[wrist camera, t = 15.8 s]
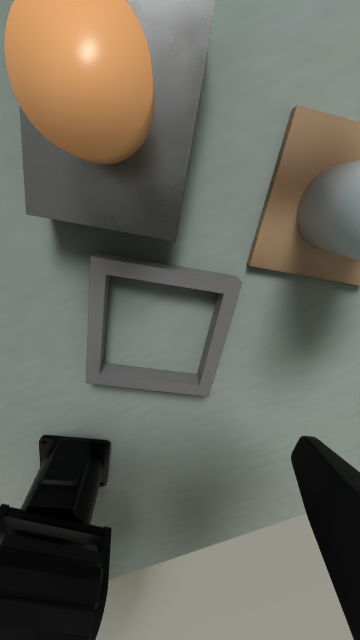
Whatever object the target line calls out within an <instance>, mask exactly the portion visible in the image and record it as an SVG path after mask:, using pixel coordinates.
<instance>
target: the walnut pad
mask: <svg viewBox="0 0 360 640" xmlns="http://www.w3.org/2000/svg"><path fill="white" fill-rule="evenodd" d="M358 160H360V122H357V121H353V120H350V119H346V118H342V117H338V116H335V115H331V114H327V113H323V112H320V111H316V110H312V109H308V108H305V107H301V106H296V107H294V108H293V109H292V112H291V115H290V118H289V122H288V125H287V129H286V132H285V136H284V139H283V142H282V146H281V149H280V153H279V156H278V160H277V163H276V166H275V170H274V173H273V177H272V180H271V183H270V187H269V190H268V194H267V197H266V201H265V204H264V207H263V211H262V214H261V218H260V221H259V224H258V228H257V231H256V235H255V238H254V242H253V245H252V248H251V252H250V255H249V259H248V262H247V264H248V265H249V266H253V267H258V268H264V269H269V270H275V271H281V272H286V273H292V274H297V275H303V276H309V277H314V278H320V279H325V280H331V281H337V282H342V283H348V284H353V285H359V286H360V261H359V260H356V259H353V258H349V257H346V256H343V255H339V254H336V253H333V252H330V251H326V250H323V249H320V248H317V247H314V246H312V245H310V244H309V243H307V242H306V241H305V240H304V238H303V237H302V236H301V234H300V232H299V229H298V225H297V209H298V205H299V201H300V199H301V196H302V194H303V193H304V191H305V189H306V188H307V186H308V185H309V184H310V182H311V181H312V180H313V179H314V178H315V177H316V176H317V175H319V174H320V173H321V172H323V171H324V170H326V169H328V168H330V167H332V166H335V165H339V164H344V163H348V162H353V161H358Z"/></svg>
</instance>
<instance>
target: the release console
mask: <svg viewBox="0 0 360 640" xmlns="http://www.w3.org/2000/svg"><path fill="white" fill-rule="evenodd" d="M125 1H126V2H127V3H128V5H129V6H130V7H131V9H132V11H133V12H134V14H135V16H136V17H137V19H138V21H139V24H140V26H141V28H142V30H143V33H144V36H145V38H146V41H147V45H148V49H149V53H150V59H151V66H152V75H153V84H154V96H155V107H154V116H153V121H152V124H151V128H150V130H149V133H148V135H147V137H146V139H145V141H144V142H143V144H142V145H141V146H140V148H139V149H138V150H137V151H136V152H135V153H134V154H133V155H131V156H130V157H128V158H127V159H125V160H123V161H121V162H118V163H114V164H108V165H101V164H94V163H90V162H87V161H85V160H82V159H80V158H78V157H76V156H74V155H72V154H70V153H69V152H67V151H65V150H63V149H61V148H59V147H58V146H56V145H54V144H53V143H51V142H50V141H49V140H48V139H46V138H45V137H44V136H43V135H42V134H41V133H40V132H39V131H38V130H37V129H36V128H35V127H34V125H33V124H32V123H31V122H30V121H29V119H28V118H27V116H26V115H25V113H24V112H23V110H22V108H21V106H20V120H21V136H22V153H23V170H24V186H25V203H26V214H28V215H33V216H39V217H44V218H49V219H55V220H60V221H66V222H71V223H77V224H82V225H87V226H93V227H98V228H104V229H109V230H115V231H120V232H125V233H131V234H136V235H142V236H147V237H153V238H158V239H163V240H169V241H174V242H175V240H176V234H177V228H178V222H179V216H180V211H181V205H182V199H183V193H184V187H185V181H186V175H187V169H188V164H189V158H190V152H191V146H192V140H193V134H194V128H195V122H196V117H197V111H198V105H199V99H200V93H201V87H202V81H203V75H204V69H205V64H206V58H207V52H208V46H209V40H210V34H211V28H212V22H213V17H214V11H215V5H216V0H125ZM13 2H14V0H13Z"/></svg>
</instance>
